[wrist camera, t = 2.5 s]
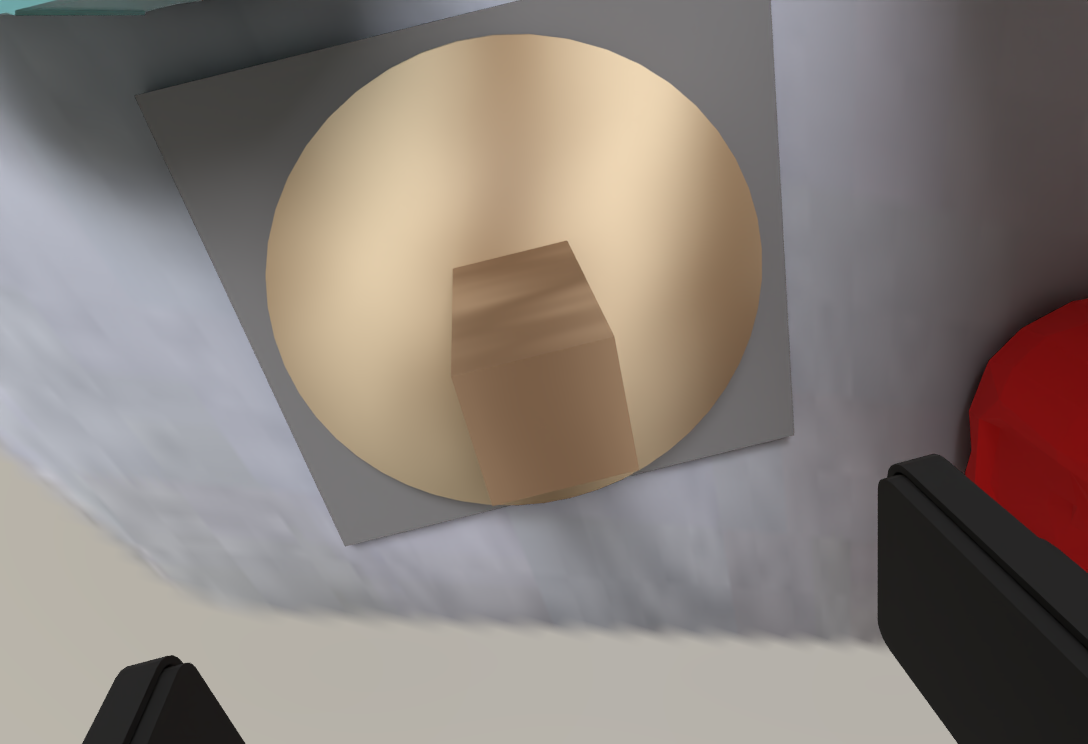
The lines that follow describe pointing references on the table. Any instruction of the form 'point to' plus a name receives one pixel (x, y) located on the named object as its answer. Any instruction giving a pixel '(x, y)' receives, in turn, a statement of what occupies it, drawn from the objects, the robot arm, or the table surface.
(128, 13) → the bowl
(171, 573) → the table surface
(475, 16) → the mat
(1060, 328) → the water bottle
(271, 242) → the lid
